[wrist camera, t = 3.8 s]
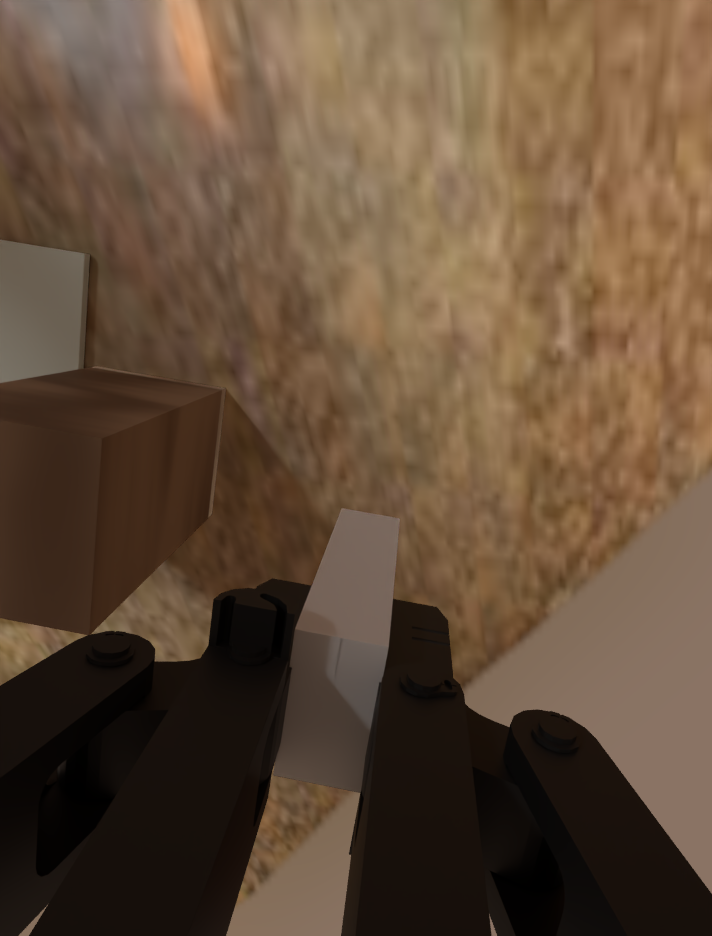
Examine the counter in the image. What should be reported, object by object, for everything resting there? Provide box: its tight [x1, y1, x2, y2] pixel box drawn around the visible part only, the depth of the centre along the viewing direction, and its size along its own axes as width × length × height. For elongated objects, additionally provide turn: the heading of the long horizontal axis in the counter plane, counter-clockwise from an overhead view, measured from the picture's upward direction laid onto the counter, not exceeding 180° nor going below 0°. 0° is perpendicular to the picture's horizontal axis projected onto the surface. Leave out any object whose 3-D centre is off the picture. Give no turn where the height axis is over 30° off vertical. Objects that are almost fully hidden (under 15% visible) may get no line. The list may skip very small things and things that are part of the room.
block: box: [0, 366, 226, 635], centre depth 21 cm, size 5×5×10 cm
